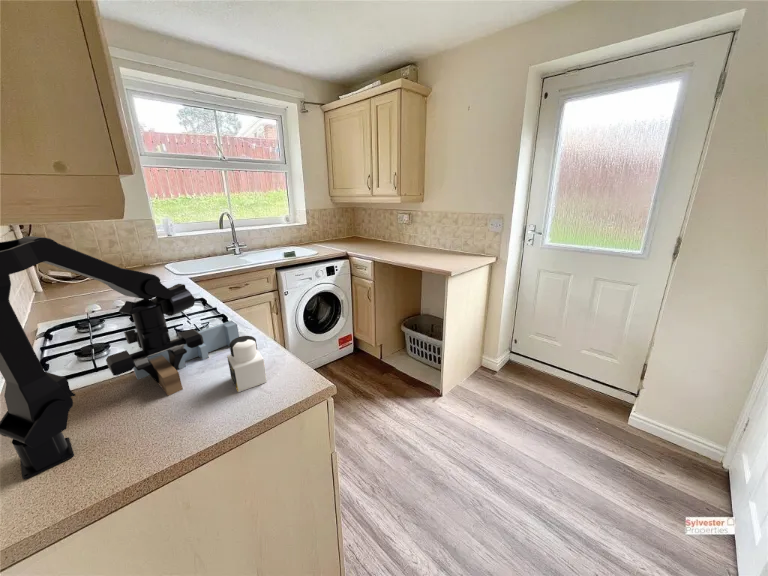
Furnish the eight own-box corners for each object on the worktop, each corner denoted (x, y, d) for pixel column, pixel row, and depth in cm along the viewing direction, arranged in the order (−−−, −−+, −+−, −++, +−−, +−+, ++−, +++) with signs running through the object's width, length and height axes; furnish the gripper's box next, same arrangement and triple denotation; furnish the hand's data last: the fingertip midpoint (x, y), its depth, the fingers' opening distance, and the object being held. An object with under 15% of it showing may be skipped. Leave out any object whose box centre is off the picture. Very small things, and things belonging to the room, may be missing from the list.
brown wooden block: (182, 389, 77) (178, 372, 75) (168, 395, 74) (163, 378, 73) (166, 370, 84) (161, 354, 82) (152, 376, 81) (147, 359, 80)
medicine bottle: (231, 378, 81) (223, 338, 77) (259, 369, 85) (253, 330, 81) (237, 393, 75) (229, 350, 71) (267, 382, 79) (261, 341, 75)
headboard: (241, 344, 97) (238, 324, 95) (141, 384, 78) (133, 360, 76) (234, 340, 99) (231, 320, 97) (136, 377, 81) (129, 354, 78)
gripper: (182, 303, 85) (193, 353, 90) (92, 327, 71) (111, 383, 77) (198, 314, 78) (209, 367, 84) (102, 343, 65) (123, 403, 70)
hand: (166, 379), depth 79 cm, fingers closed on brown wooden block, 3 cm apart
